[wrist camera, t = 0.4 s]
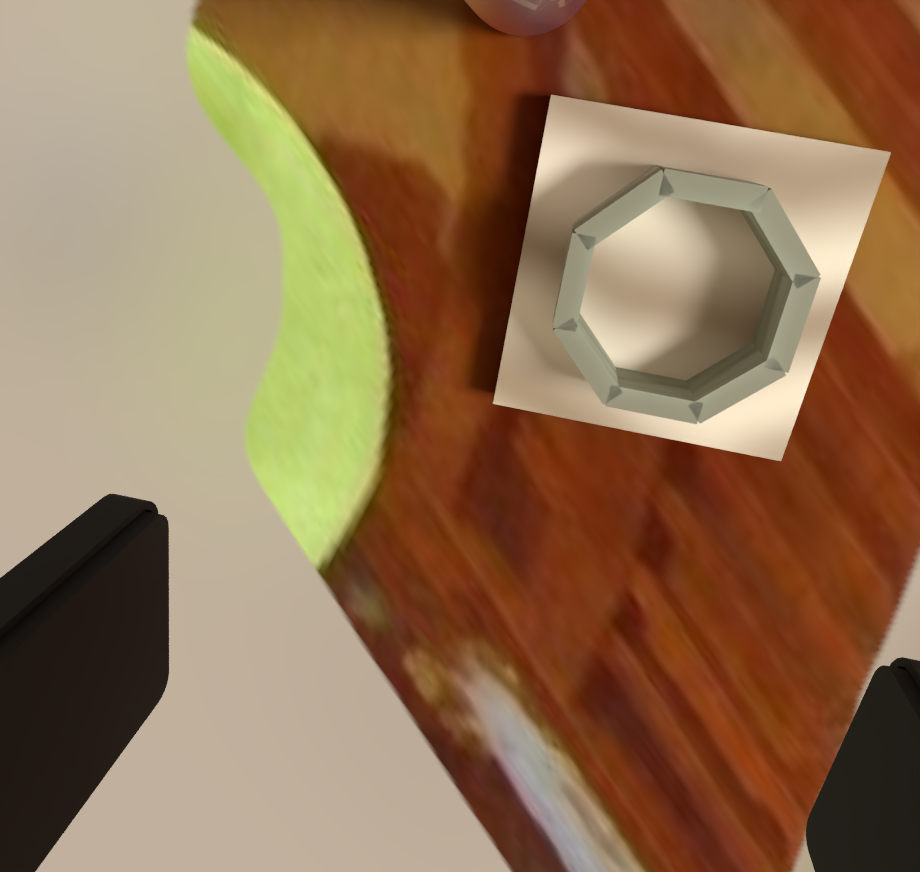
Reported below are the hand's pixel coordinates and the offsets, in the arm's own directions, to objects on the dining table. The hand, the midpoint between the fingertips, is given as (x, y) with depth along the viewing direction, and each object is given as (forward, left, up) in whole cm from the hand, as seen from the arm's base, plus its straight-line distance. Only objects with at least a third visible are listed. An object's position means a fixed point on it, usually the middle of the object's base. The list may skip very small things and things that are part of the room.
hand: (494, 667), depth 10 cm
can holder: (-1, +5, -29) cm, 29 cm away
